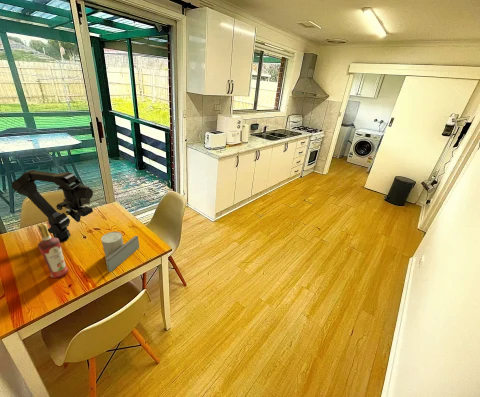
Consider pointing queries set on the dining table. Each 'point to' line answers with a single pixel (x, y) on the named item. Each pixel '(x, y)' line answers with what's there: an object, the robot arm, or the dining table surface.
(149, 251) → the dining table surface
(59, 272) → the liquor
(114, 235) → the grey stubby cylinder
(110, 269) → the grey rectangular panel
